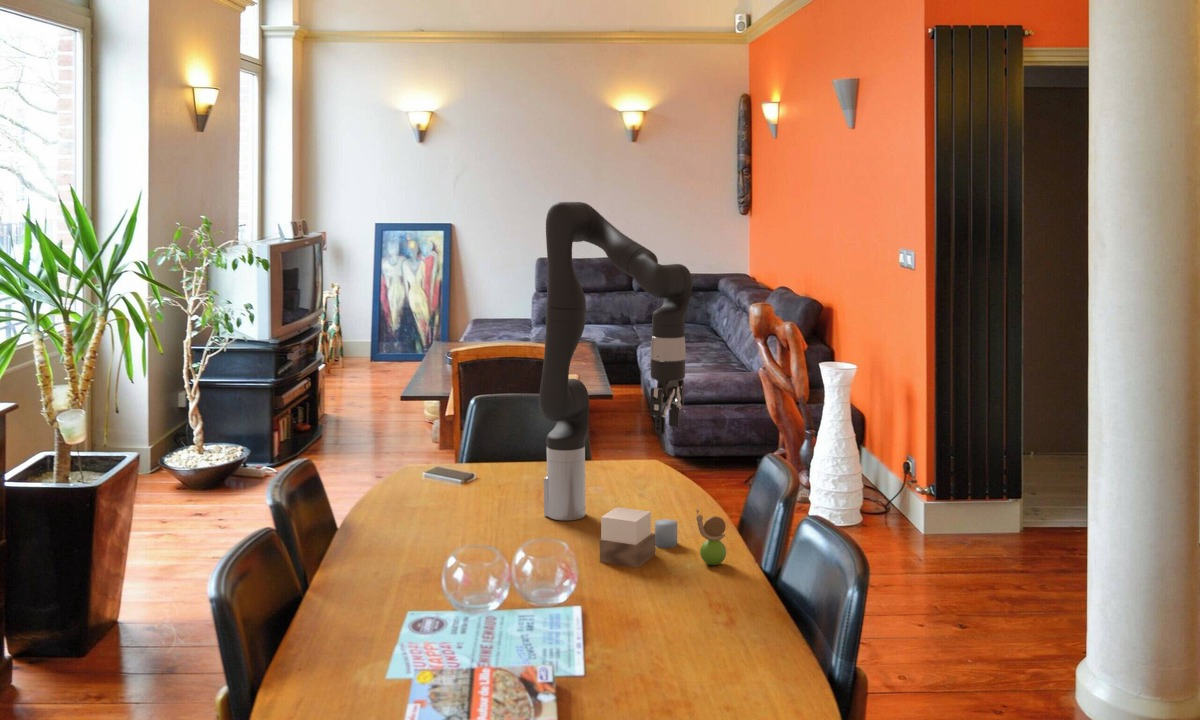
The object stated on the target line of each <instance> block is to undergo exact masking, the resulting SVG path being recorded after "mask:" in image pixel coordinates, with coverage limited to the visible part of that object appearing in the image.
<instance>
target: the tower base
mask: <svg viewBox="0 0 1200 720" xmlns="http://www.w3.org/2000/svg"><path fill="white" fill-rule="evenodd" d="M654 556H656V546H655V532H651V534H650V535H649V536H648V537H646V538H645V539H644V540H642V541H641V542H639V543H638V544H637V545H633V544H626V543H619V542H613V541H606V540H601V538H600V539H599V563H605V564H610V565H611V564H612V565H616V566H617V565H618V566H624V567H630V568H631V567H632V568H636V569H638V568H641V567H642V566H643V565H645V564H646V563H647V562H648V561H649V560H651V559H652V558H653V557H654Z"/></svg>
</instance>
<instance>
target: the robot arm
mask: <svg viewBox="0 0 1200 720" xmlns="http://www.w3.org/2000/svg"><path fill="white" fill-rule="evenodd" d="M545 238H546V239H545V241H546V242H545V243H546V254H547V255H546V257H547V258H546V259H547V284H546V285H547V289H546V290H547V293H546V303H545V305H546V306H545V307H546V308H545V336H544V337H545V339H544V340H545V341H544V356H543V366H542V372H541V380H540V388H539V395H538V397H539V398H538V399H539V400H538V401H539V407H540V410H541V412H542V415H543V416H544V417H545V418H546V419H547V420H549V421H551V422H556V423H555V426H554V427H553V428H552V430H550V431H549V433H548V434H547V435H546V476H545V477H544V478H543V516H544V517H548V518H549V519H552V520H557V521H575V520H579V519H582V518H584V517H586V507H587V506H586V439H587V436H588V433H589V421H590V420H589V417H590V396H589V392H588V389H587V387H586V386H585V384H584V382H583V381H581V380H580V379H577V378H569V375H570V368H571V367H570V366H571V362H572V358H573V356H574V354H575V351H576V349H577V347H578V344H579V343H580V340H581V339H582V336H583V333H584V330H585V327H586V326H585V324H586V306H587V305H586V304H587V303H586V302H587V301H586V295H585V293H584V289H583V287H582V286H581V283H580V281H579V279H578V277H577V274H576V272H575V269H574V265H573V264H574V263H573V244H574V243H581V242H584V243H585V242H586V243H589V244H591V245H594V246H597V247H598V248H600V249H601V250H603V252H604V253H605V254H606V256H607V258H608V259H609V261H610V262H611V264H613V266H615V267H616V268H617V269H618V270H620V271H622V272H623V273H625V274H626V275H628V276H630V277H631V278H633V279H634V280H635V281H636V282H637V284H639V286H640V287H641V288H642V289H643V290H644V292H646V293H647V294H649V295H651V296H652V297H654V298H657V299H664V300H663V303H662V306H661V307H659V308H658V309H655V311H653V313H652V318H651V319H652V320H651V321H652V323H651V343H650V378H651V379H653V380H655V381H657V383H656V387H651V388H650V400H649V406H650V407H649V415H650V416H651V417H652V416H653V417H654V434H656V435H660V436H661V435H665V434H666V416H667V412H668V417H669V418H668V425H669V427H672V428H673V427H675V428H677V427H679V426H680V413H681V412H680V411H681V409H682V406H684V404H685V380H684V379H685V378H686V349H687V348H686V338H685V337H686V336H685V331H686V329H685V325H686V323H685V318H686V314H687V311H688V308H689V304H690V299H691V297H692V292H693V278H692V274H691V271H690V270H689V268H687V267H686V265H683V264H681V263H680V264H679V263H671V264H660V263H659V260H658V258H657V255H656V254H655V253H654V252H653V251H651V250H650V249H648V248H647V247H645V246H644V245H642V244H640V243H638V242H636V240H633V239H632V238H630V237H629V236H627V235H625V234H624V233H623V232H622V231H620V230H619V229H617V228H616V227H615V226H614V225H613V224H612V223H610V221H608V220H607V219H606V218H604V216H603V215H602V214H600V212H598V211H597V210H596V209H595V208H594V207H592V206H591V205H590V204H588V203H586V202H581V201H557V202H555V203H552V205H551V206H550V207H549V209H548V211H547V214H546V219H545ZM667 410H668V411H667Z"/></svg>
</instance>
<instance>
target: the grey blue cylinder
mask: <svg viewBox="0 0 1200 720" xmlns="http://www.w3.org/2000/svg"><path fill="white" fill-rule="evenodd" d="M654 533H655V547H657V548H660V549H661V548H663V549H672V548H675V547H677V546H678V521H676V520H673V519H657V520H655V521H654Z"/></svg>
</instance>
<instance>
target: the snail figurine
mask: <svg viewBox="0 0 1200 720" xmlns="http://www.w3.org/2000/svg"><path fill="white" fill-rule="evenodd" d="M695 512H696V518H695V519H696V521H697V527H698V531H699V534H700V535H701V536H702V537H703V538H704V539H706V540H705V541H704V542H703V543H702V545H701V547H700V548H699V549H700V551H699V552H700V553H699V554H700V557H701V559H702V560H703V562H704V563H705V564H707V565H709V566H716V565H719V564H721V563H722V562H723V561H724V560H725V559H726V556H727V548H726V545H725V544H724V543H723V542H722V541H721V540H722V539H724V538H725V536H726V534H725V531H726V527H727V526H726V522H725V521H724V519H723V518H722V517H720V516H711V517H708V519H706V520H705V522H703V519H704V517H703V515H702V514H699V512H700V510H699V508H698V509H696V510H695Z"/></svg>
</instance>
